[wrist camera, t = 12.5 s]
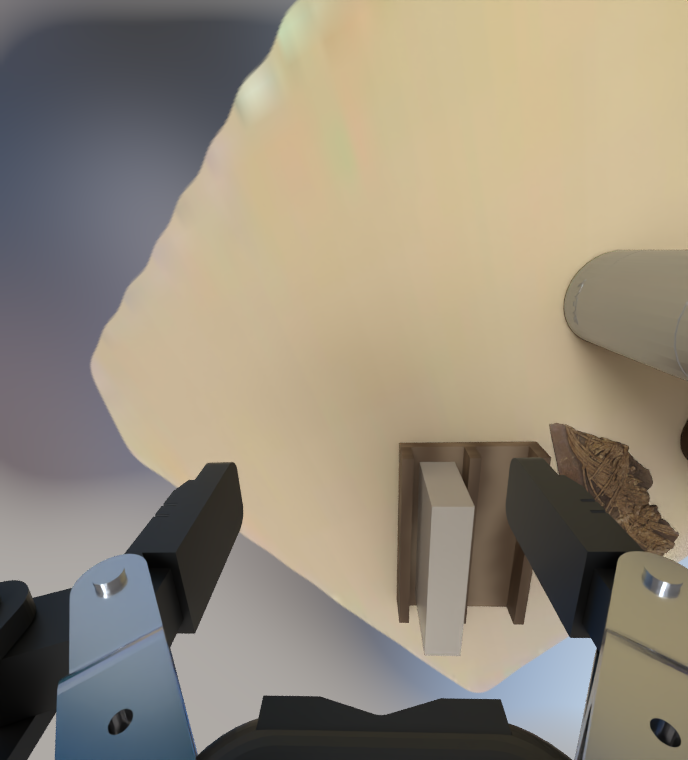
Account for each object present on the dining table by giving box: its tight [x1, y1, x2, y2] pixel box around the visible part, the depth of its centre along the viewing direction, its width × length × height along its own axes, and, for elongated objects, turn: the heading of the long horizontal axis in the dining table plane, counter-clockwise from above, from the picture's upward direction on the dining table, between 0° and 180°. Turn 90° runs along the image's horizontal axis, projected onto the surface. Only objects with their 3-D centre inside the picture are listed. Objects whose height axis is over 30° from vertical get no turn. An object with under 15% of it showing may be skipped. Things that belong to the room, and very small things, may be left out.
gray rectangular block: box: [415, 462, 475, 656], centre depth 43 cm, size 4×20×8 cm, turn 2°
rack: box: [397, 442, 551, 624], centre depth 45 cm, size 16×24×4 cm, turn 2°
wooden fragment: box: [549, 423, 679, 556], centre depth 45 cm, size 26×11×1 cm, turn 33°
